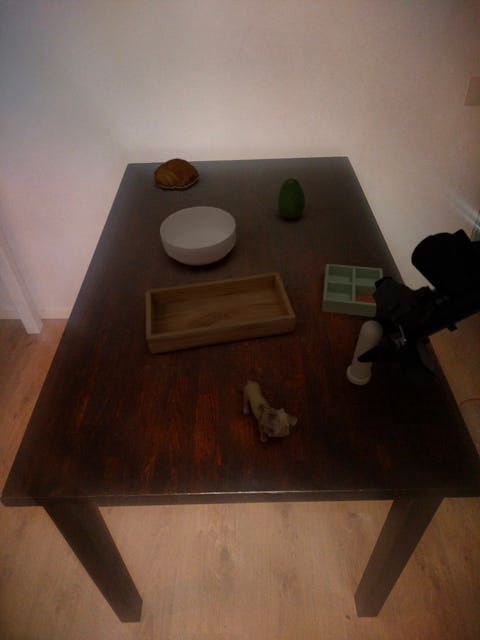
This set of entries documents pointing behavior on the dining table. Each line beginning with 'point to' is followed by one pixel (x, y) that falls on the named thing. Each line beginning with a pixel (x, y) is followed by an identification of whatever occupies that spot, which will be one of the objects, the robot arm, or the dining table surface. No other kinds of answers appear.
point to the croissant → (175, 174)
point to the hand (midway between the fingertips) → (356, 351)
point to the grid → (350, 289)
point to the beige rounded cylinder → (366, 342)
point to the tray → (217, 312)
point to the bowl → (198, 235)
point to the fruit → (291, 199)
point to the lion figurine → (266, 413)
